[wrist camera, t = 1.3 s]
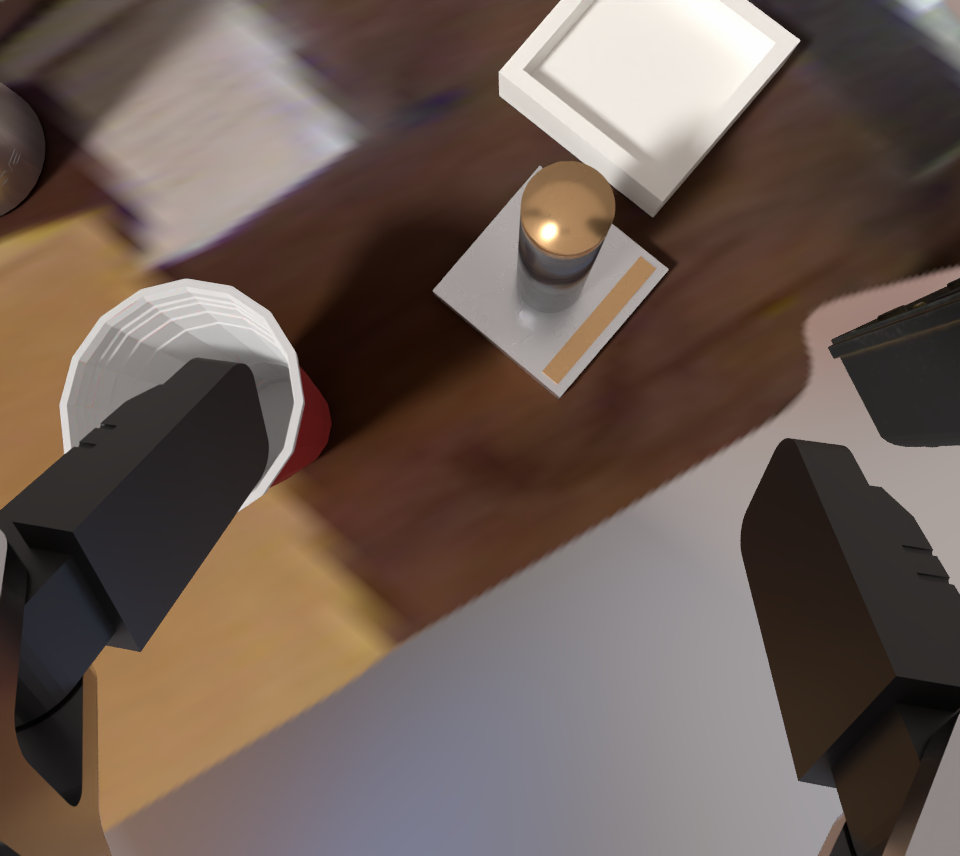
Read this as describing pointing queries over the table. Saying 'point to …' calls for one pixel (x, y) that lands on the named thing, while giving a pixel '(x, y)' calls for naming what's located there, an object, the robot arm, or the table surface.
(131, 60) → the table surface
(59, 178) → the table surface
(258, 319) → the plastic cup
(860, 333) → the black carrying case
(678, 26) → the white square tray
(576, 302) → the plate
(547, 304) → the battery cell
